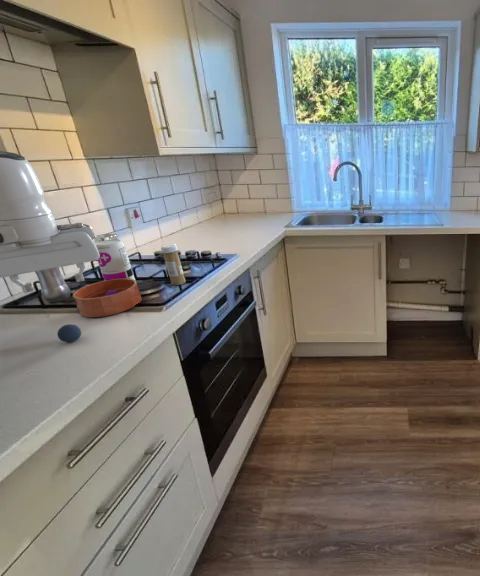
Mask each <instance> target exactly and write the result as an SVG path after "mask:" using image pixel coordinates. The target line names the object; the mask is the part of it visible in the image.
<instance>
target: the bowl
mask: <svg viewBox="0 0 480 576" xmlns="http://www.w3.org/2000/svg"><path fill="white" fill-rule="evenodd" d="M111 290H116V291H119V293H116V294H113V295H109V296H104V295H105V294H106V293H107V292H108V291H111ZM72 298H73V300H74V303H75V306H76V308H77V311H78V313H79V314H80V315H81V317H86V318H99V317H107V316H111V315H116V314H119V313H122V312H125V311H128V310H130V309H132V308H135V307H136V306H137V305H139V304H140V303H141V302H142V300H143V298H142V294H141V290H140V288H139V284H138V281H137V280H136V279H135V280H134V279H128V278H124V279H112V280H106V281H105V280H102V281H97V282H94V283H91V284H88V285H85V286H83V287H81V288H79V289H77V290H76V291H74V292H73V293H72ZM138 303H139V304H138ZM136 304H137V305H136ZM135 305H136V306H135Z"/></svg>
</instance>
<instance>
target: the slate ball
mask: <svg viewBox="0 0 480 576" xmlns="http://www.w3.org/2000/svg"><path fill="white" fill-rule="evenodd" d="M81 336H82V330H81V328H80V327H79V326H77V325H75V324H72V323H71V324H70V323H69V324H65V325H62V326H61V327H60V328H59V329H58V330H57V338H58V339H59V340H60V341H61V342H64V343H73V342H75V341H77V340H79V338H80V337H81Z"/></svg>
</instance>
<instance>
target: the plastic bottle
mask: <svg viewBox="0 0 480 576" xmlns="http://www.w3.org/2000/svg"><path fill="white" fill-rule="evenodd" d="M34 273H35V275H36V277H37V279H38V282H39V287H40V292H41V296H42V298H43V299H44V300H45V301H46V302H48V303H56V302H62V301H65V300H67V299H69V298H70V296H71V289H70V287H69V285H68V284H67V283H66V281H65V278H64V276H63V275H62V273H61V270H60V267H58V268H52V269H46V270H41V271H35V272H34Z"/></svg>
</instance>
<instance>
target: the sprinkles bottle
mask: <svg viewBox="0 0 480 576" xmlns="http://www.w3.org/2000/svg"><path fill="white" fill-rule="evenodd" d="M160 250H161V253H162V255H163V259H164V263H165V267H166V270H167V273H168V276H169V279H170V284H171V286H180V285H183V284H186V282H187V280H186V277H185V274H184V270H183V266H182V263H181V258H180V255H179V252H178V250H179V249H178V246H177V244H176V243H168V244H164V245H161V246H160Z"/></svg>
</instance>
